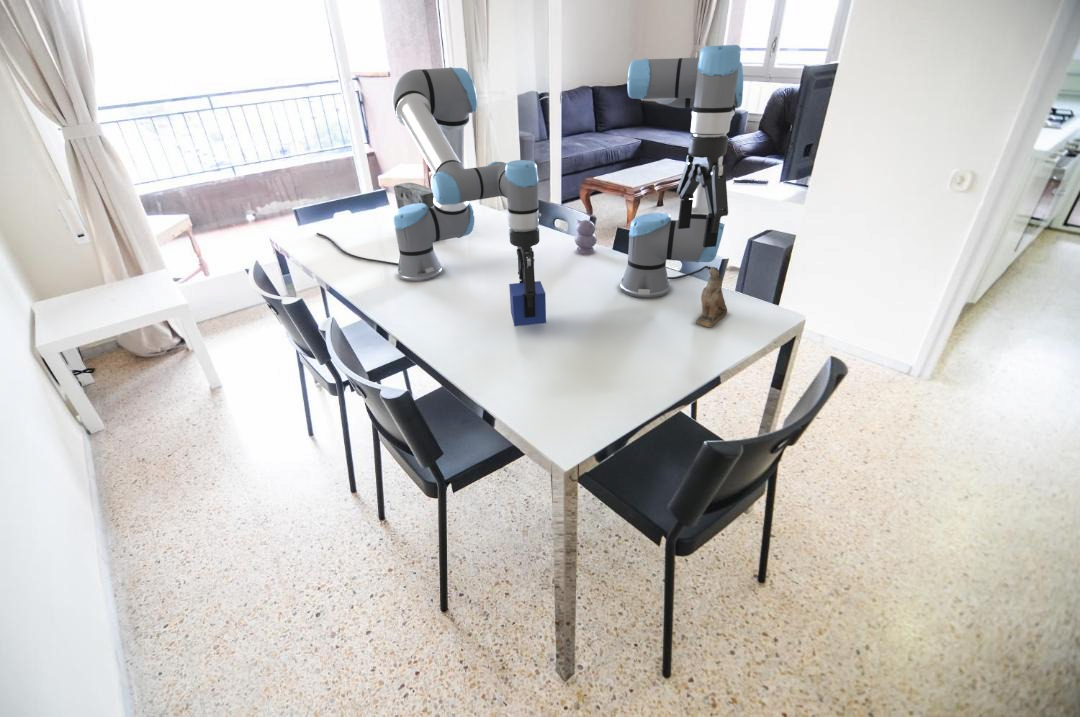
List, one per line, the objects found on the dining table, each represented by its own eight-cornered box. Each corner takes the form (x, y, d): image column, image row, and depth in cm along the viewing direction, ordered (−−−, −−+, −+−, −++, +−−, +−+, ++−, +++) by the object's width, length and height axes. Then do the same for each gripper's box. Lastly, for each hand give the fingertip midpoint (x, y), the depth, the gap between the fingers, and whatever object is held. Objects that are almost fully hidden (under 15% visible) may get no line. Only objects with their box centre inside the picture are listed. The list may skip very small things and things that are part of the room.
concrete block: (446, 240, 206) (439, 191, 196) (426, 245, 202) (419, 195, 192) (419, 226, 225) (412, 180, 215) (401, 230, 221) (392, 184, 210)
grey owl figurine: (600, 251, 189) (601, 219, 183) (587, 257, 184) (588, 225, 178) (583, 246, 194) (583, 216, 188) (570, 252, 190) (570, 220, 183)
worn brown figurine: (709, 335, 136) (713, 280, 124) (691, 329, 139) (693, 274, 128) (730, 313, 142) (736, 258, 130) (712, 307, 145) (716, 253, 133)
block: (514, 326, 133) (512, 296, 129) (511, 312, 140) (509, 283, 135) (546, 323, 134) (545, 293, 130) (541, 309, 141) (540, 280, 136)
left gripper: (546, 239, 115) (547, 325, 127) (532, 214, 133) (535, 292, 145) (514, 242, 114) (518, 328, 127) (504, 216, 132) (509, 294, 144)
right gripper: (759, 142, 91) (738, 253, 102) (700, 126, 112) (688, 220, 123) (720, 144, 90) (704, 256, 101) (668, 128, 111) (659, 222, 122)
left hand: (527, 309), depth 136 cm, fingers closed on block, 8 cm apart
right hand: (695, 237), depth 112 cm, fingers open, 13 cm apart
